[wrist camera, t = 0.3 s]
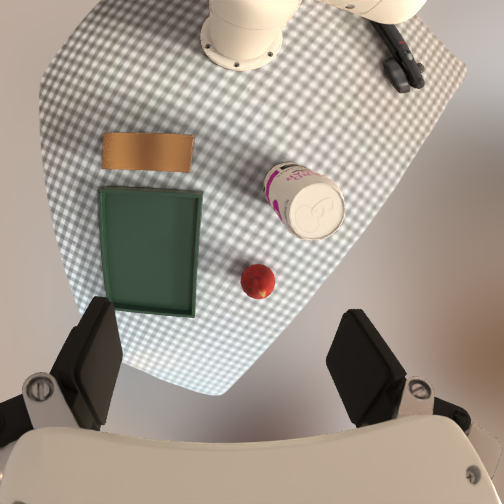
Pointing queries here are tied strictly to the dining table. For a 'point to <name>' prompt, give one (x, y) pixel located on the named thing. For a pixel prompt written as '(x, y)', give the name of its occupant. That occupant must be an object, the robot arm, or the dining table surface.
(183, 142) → the tan wooden block
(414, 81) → the can opener
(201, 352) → the dining table surface
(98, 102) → the dining table surface
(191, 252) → the tray
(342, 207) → the supplement can
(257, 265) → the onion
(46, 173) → the dining table surface
